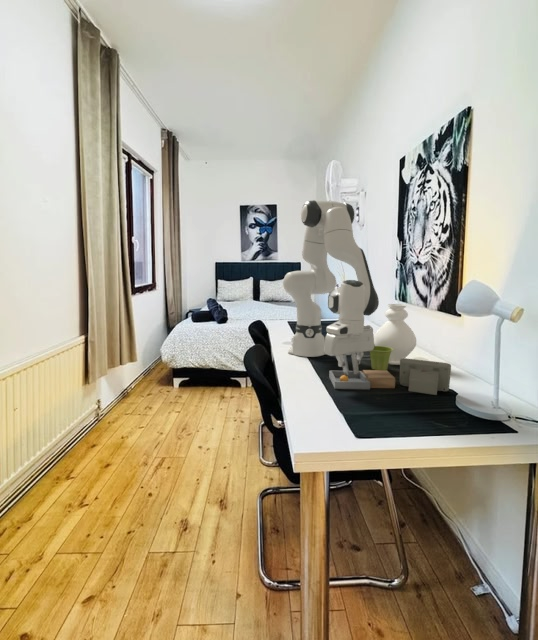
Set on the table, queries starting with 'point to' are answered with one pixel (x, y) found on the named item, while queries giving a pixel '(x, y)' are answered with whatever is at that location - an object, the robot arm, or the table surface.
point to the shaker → (354, 363)
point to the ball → (344, 378)
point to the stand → (380, 378)
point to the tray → (354, 380)
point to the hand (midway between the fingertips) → (349, 365)
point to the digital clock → (425, 375)
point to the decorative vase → (396, 334)
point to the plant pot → (380, 357)
